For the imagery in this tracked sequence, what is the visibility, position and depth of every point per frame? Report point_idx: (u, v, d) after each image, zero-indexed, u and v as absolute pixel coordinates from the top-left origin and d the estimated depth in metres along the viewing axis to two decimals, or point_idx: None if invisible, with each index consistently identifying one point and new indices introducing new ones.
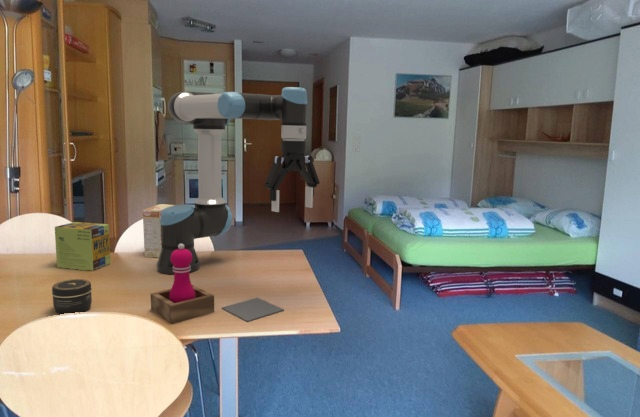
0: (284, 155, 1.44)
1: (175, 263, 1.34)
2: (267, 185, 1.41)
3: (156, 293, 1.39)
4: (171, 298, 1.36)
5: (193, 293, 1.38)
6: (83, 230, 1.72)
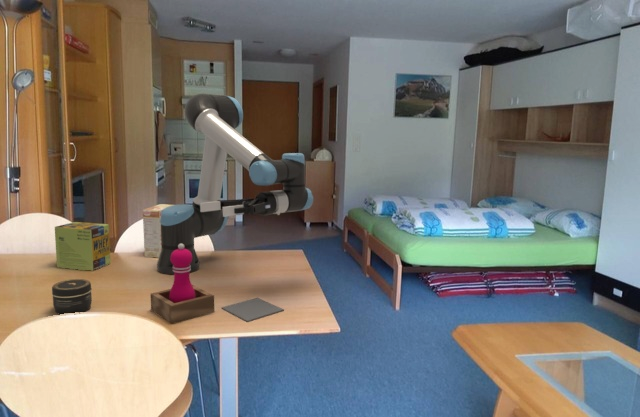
0: None
1: (175, 263, 1.34)
2: (253, 210, 1.40)
3: (156, 293, 1.39)
4: (171, 298, 1.36)
5: (193, 293, 1.38)
6: (83, 230, 1.72)
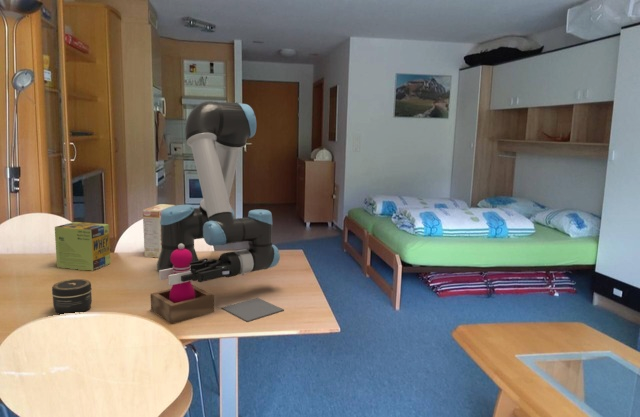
0: (228, 270, 1.43)
1: (175, 263, 1.34)
2: (201, 278, 1.35)
3: (156, 293, 1.39)
4: (171, 298, 1.36)
5: (193, 293, 1.38)
6: (83, 230, 1.72)
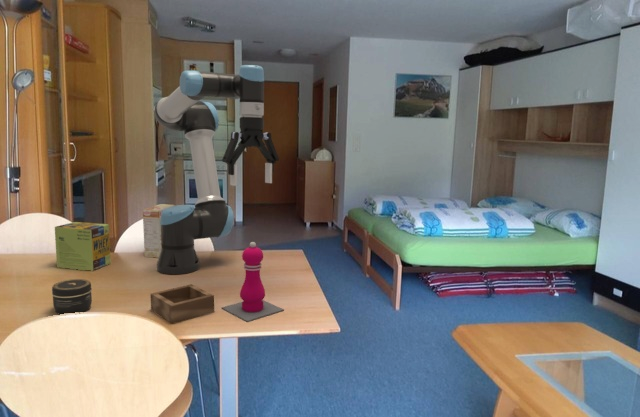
0: (242, 131, 1.49)
1: (248, 261, 1.37)
2: (225, 159, 1.47)
3: (156, 293, 1.39)
4: (243, 296, 1.38)
5: (264, 290, 1.40)
6: (83, 230, 1.72)
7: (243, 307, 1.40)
